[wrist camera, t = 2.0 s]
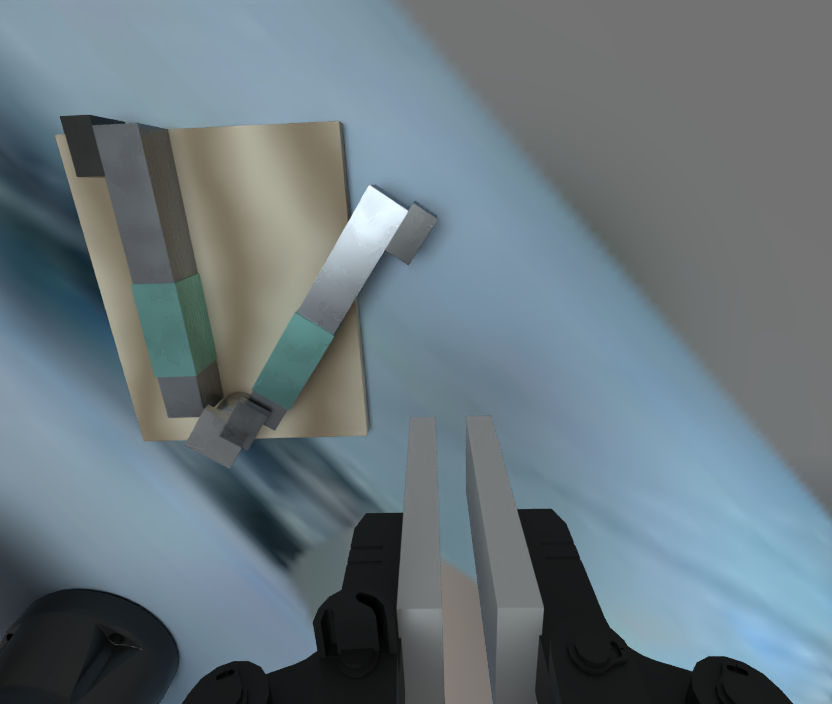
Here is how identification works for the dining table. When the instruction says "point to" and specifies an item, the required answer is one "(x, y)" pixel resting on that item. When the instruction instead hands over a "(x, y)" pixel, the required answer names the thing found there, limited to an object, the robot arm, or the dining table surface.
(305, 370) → the tongs arm
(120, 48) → the dining table surface
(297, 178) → the board
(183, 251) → the teal-banded grey bar
